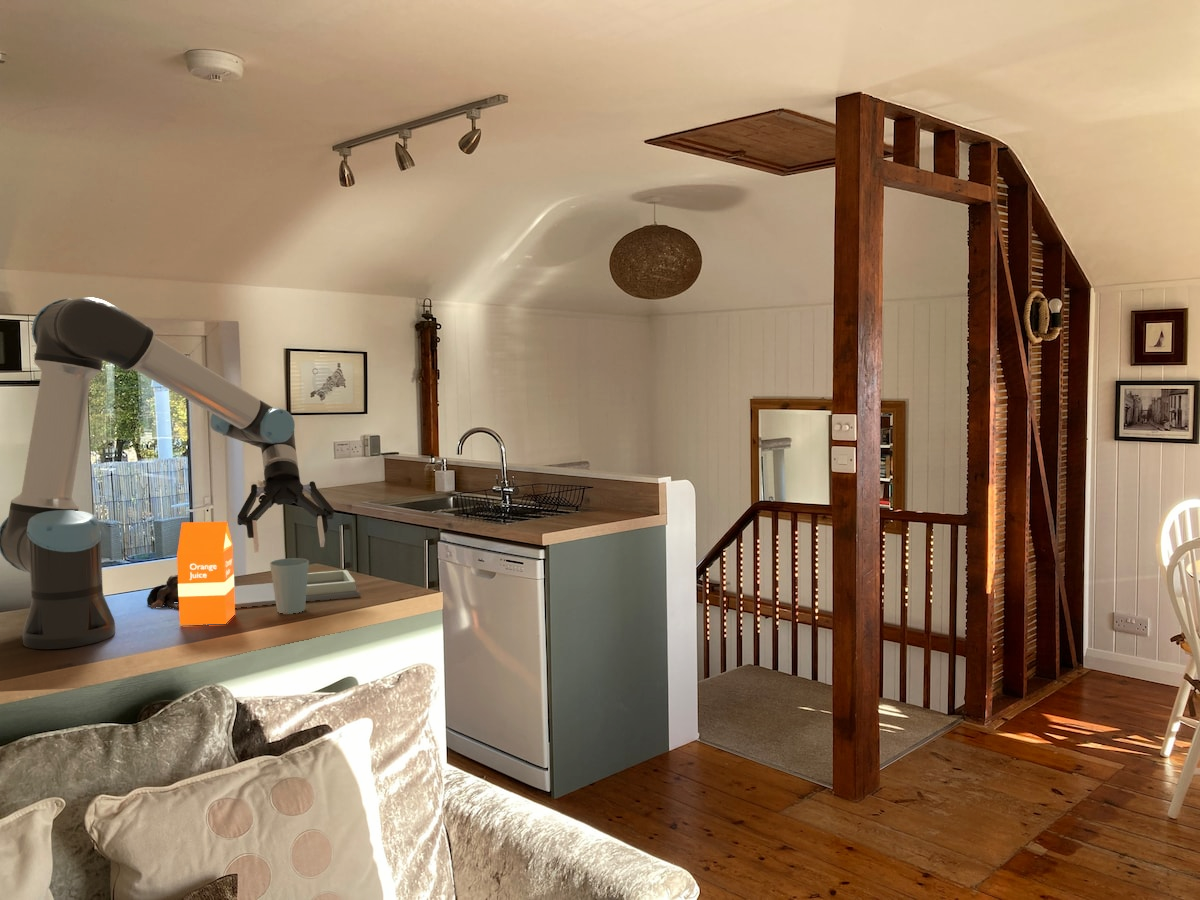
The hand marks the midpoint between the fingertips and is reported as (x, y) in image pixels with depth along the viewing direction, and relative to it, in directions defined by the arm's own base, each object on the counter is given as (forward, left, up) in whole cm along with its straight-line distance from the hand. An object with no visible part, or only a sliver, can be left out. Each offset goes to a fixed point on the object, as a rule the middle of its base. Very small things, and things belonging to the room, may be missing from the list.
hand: (290, 546), depth 204 cm
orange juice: (-17, -9, -12) cm, 23 cm away
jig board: (+1, +7, -12) cm, 14 cm away
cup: (-1, -8, -12) cm, 15 cm away
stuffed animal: (-23, +10, -13) cm, 28 cm away
